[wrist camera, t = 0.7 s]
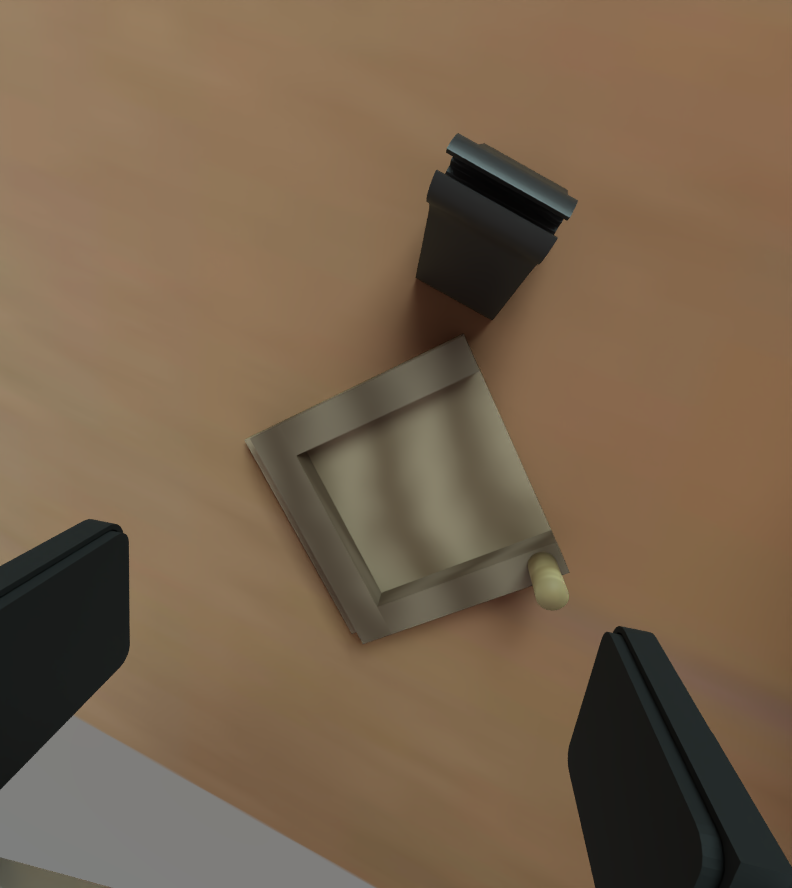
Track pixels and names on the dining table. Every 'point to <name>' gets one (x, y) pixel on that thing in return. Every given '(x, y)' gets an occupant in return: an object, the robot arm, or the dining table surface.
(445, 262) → the phone stand
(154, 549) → the dining table surface
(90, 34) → the dining table surface
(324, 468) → the board
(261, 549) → the dining table surface
